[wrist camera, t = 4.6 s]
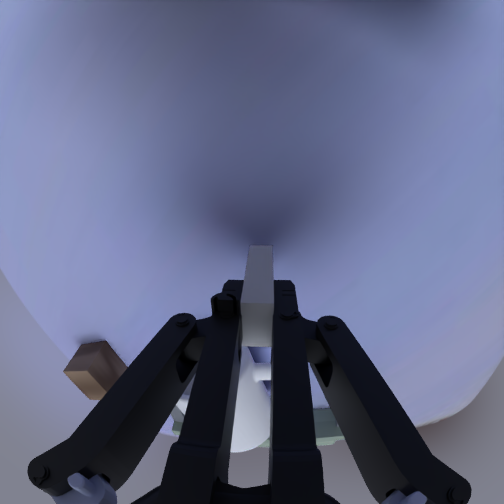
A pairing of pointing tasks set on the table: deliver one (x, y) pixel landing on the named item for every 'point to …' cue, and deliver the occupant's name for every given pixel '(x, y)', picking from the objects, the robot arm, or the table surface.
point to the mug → (246, 404)
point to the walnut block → (95, 369)
